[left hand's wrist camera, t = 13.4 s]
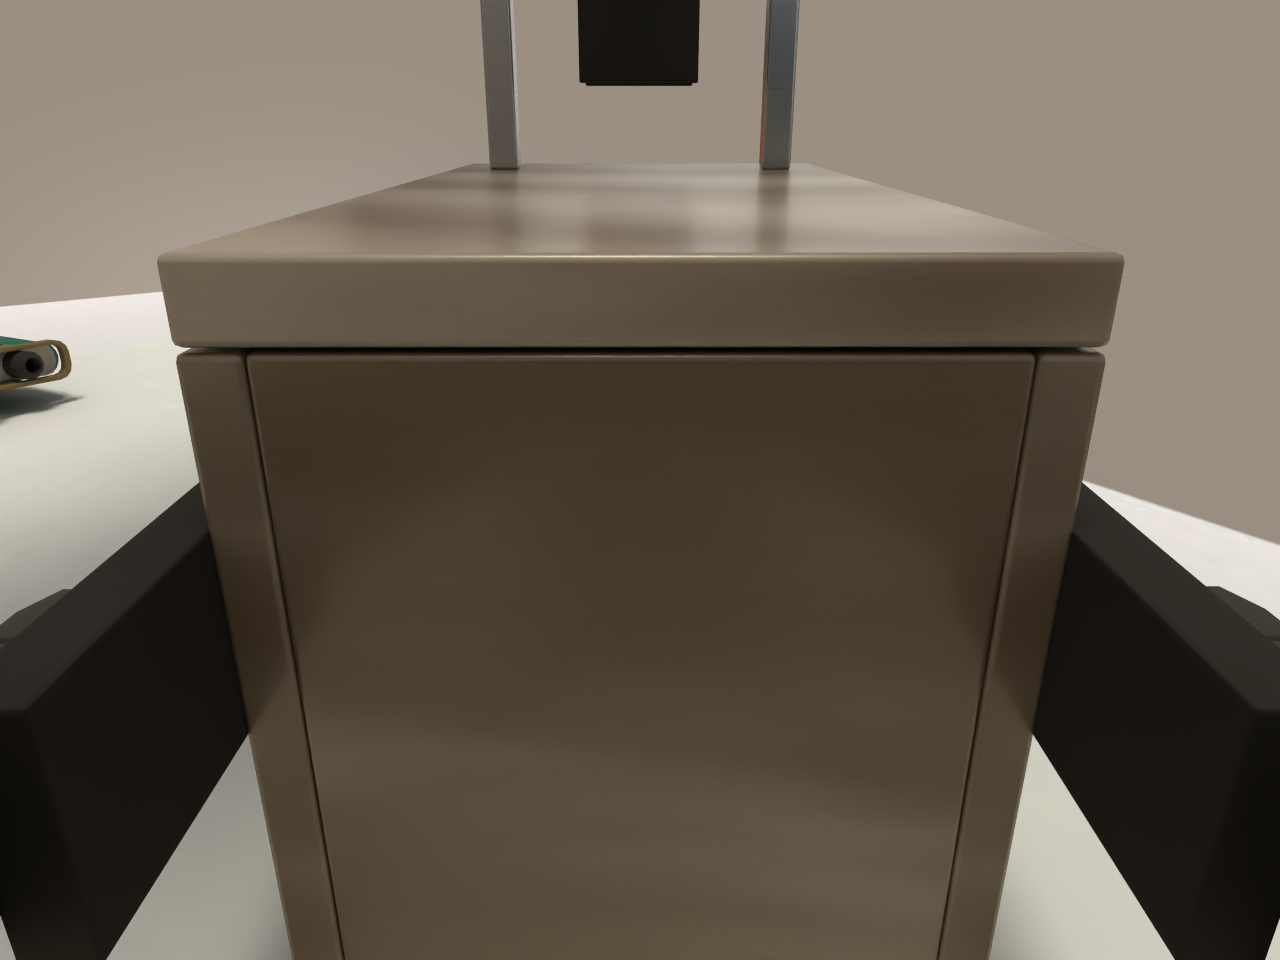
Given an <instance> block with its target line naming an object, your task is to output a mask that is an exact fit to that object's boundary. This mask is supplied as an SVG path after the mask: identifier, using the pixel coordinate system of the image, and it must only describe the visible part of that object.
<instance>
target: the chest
mask: <svg viewBox="0 0 1280 960" xmlns="http://www.w3.org/2000/svg"><path fill="white" fill-rule="evenodd" d="M176 364H177V369H178V374H179V379H180V384H181V390H182V395H183V400H184V405H185V410H186V415H187V420H188V425H189V431H190V436H191V441H192V446H193V451H194V456H195V461H196V467H197V472H198V477H199V482H200V487H201V492H202V497H203V502H204V508H205V513H206V518H207V523H208V528H209V533H210V538H211V543H212V549H213V554H214V559H215V564H216V569H217V574H218V579H219V585H220V590H221V595H222V600H223V605H224V610H225V615H226V620H227V626H228V631H229V636H230V641H231V646H232V651H233V656H234V661H235V667H236V672H237V677H238V682H239V687H240V692H241V697H242V703H243V708H244V713H245V718H246V723H247V728H248V733H249V738H250V744H251V749H252V754H253V759H254V764H255V769H256V774H257V779H258V785H259V790H260V795H261V800H262V805H263V810H264V815H265V821H266V826H267V831H268V836H269V841H270V846H271V851H272V856H273V862H274V867H275V872H276V877H277V882H278V887H279V892H280V897H281V903H282V908H283V913H284V918H285V923H286V928H287V933H288V939H289V944H290V949H291V954H292V959H293V960H989V956H990V951H991V946H992V941H993V936H994V931H995V926H996V920H997V915H998V910H999V905H1000V900H1001V895H1002V890H1003V885H1004V879H1005V874H1006V869H1007V864H1008V859H1009V854H1010V849H1011V844H1012V838H1013V833H1014V828H1015V823H1016V818H1017V813H1018V808H1019V803H1020V797H1021V792H1022V787H1023V782H1024V777H1025V772H1026V767H1027V762H1028V756H1029V751H1030V746H1031V741H1032V736H1033V730H1034V725H1035V720H1036V715H1037V710H1038V704H1039V699H1040V694H1041V689H1042V684H1043V679H1044V674H1045V669H1046V663H1047V658H1048V653H1049V648H1050V643H1051V638H1052V633H1053V628H1054V623H1055V617H1056V612H1057V607H1058V602H1059V597H1060V592H1061V587H1062V582H1063V576H1064V571H1065V566H1066V561H1067V556H1068V551H1069V546H1070V541H1071V535H1072V531H1073V526H1074V521H1075V516H1076V510H1077V505H1078V500H1079V495H1080V490H1081V485H1082V480H1083V474H1084V469H1085V464H1086V459H1087V454H1088V449H1089V444H1090V439H1091V433H1092V428H1093V423H1094V418H1095V413H1096V408H1097V403H1098V398H1099V393H1100V387H1101V382H1102V377H1103V372H1104V367H1105V357H1104V355H1103V354H1101V353H1099V352H1097V351H1095V350H1094V349H1092V348H1090V347H478V348H191V349H189V350H187V351H185V352H183V353H181V354H179V355H178V356H177V361H176Z"/></svg>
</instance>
